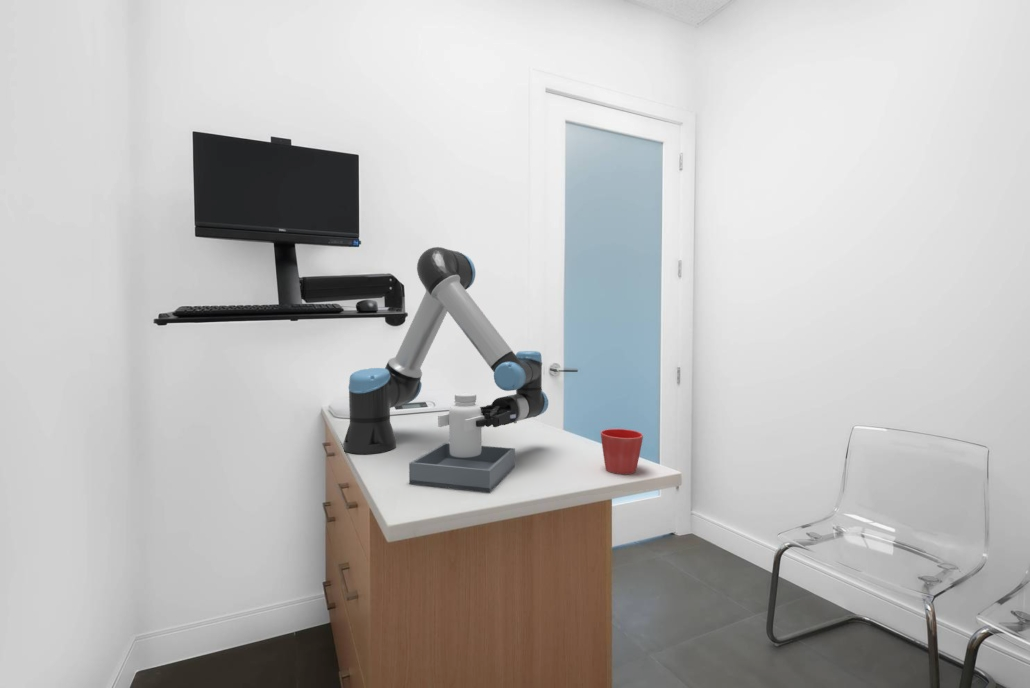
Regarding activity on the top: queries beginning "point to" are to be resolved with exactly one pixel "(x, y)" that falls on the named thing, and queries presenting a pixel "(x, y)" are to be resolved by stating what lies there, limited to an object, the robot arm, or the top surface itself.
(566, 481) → the top surface
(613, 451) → the flower pot
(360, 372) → the robot arm
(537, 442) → the top surface
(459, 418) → the pill bottle
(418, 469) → the tray
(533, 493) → the top surface
